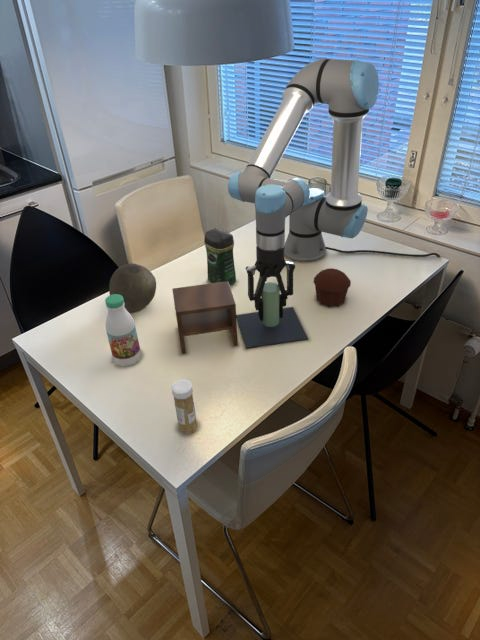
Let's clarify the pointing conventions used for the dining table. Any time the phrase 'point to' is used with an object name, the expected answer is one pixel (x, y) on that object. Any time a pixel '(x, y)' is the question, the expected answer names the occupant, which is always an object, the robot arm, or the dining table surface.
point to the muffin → (331, 287)
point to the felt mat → (270, 329)
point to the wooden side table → (205, 310)
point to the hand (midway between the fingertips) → (270, 316)
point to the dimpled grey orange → (133, 286)
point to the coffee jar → (220, 256)
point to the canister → (271, 304)
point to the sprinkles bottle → (184, 406)
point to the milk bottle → (121, 332)
